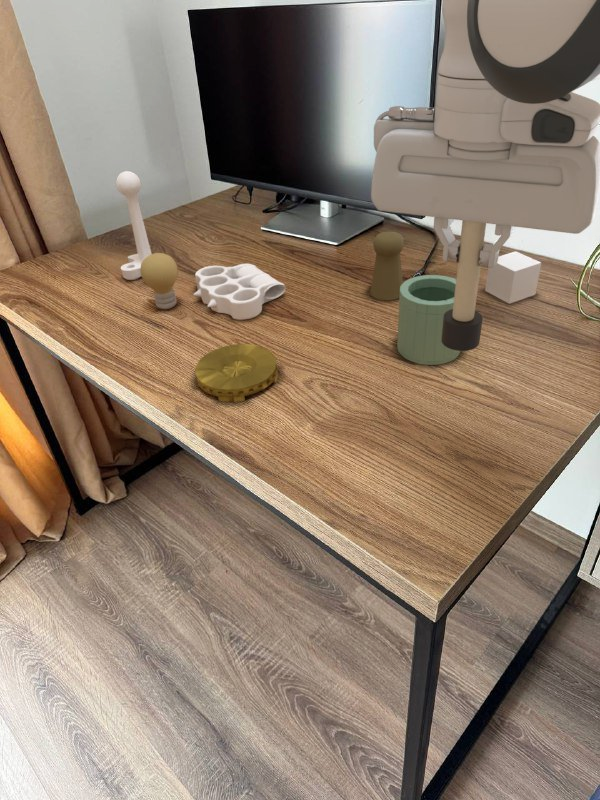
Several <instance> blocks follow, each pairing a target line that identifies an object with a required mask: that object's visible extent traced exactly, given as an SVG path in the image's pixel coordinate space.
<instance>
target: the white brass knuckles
mask: <svg viewBox="0 0 600 800" xmlns="http://www.w3.org/2000/svg"><path fill="white" fill-rule="evenodd" d="M194 277H195V282H196V288H197V290H196V291H195V292H194V293H193V294H192V296H194V297H199V298H201V301H202V304H205V305H207V306H206V307H207V308H210V309H211V311H213V312H216V313H218V314H225V315H229V316H231V318H232V319H233V320H239V321H240V320H243V321H244V320H250V319H254V318H256V317H258V316H259V315H260V314H261V313H262V312H263V305H264V304H266V303H268V302H272V301H273V300H275V299H277V298H279V297H281V296H282V295H284V294H285V293H286V288H287V287H286V285H285V283H283V282H280V281H279V280H277V279H275V278H274V277H272V276H271V275H270V274H269V273H266V272H265V271H263V270H262V269H259V268H258V267H257V266H256V265H255V264H252V263H240V264H237V265H234V266H224V265H223V266H222V265H209V266H205V267H202V268H200V269H198V270H196V272H195V275H194Z"/></svg>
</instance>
